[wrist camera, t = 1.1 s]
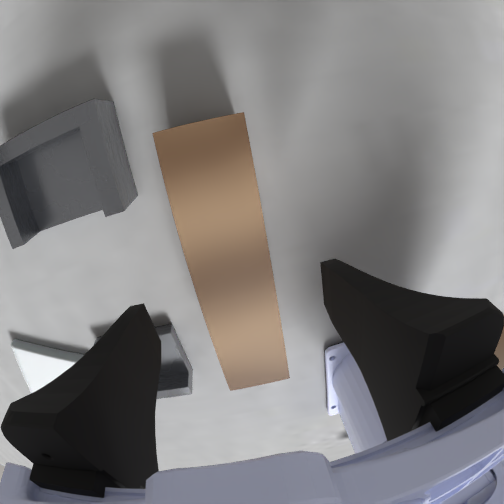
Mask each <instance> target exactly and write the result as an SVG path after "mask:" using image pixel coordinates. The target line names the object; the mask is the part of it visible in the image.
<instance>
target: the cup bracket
mask: <svg viewBox="0 0 504 504" xmlns="http://www.w3.org/2000/svg"><path fill="white" fill-rule="evenodd" d="M137 196H138V194H137V191H136V187H135V184H134V180H133V177H132V173H131V170H130V166H129V163H128V159H127V155H126V151H125V148H124V144H123V140H122V136H121V132H120V128H119V124H118V119H117V115H116V111H115V106H114V102H113V101H106V100H99V99H92V100H90V101H87V102H85V103H83V104H80V105H78V106H76V107H73V108H71V109H69V110H67V111H65V112H62V113H60V114H58V115H56V116H54V117H52V118H50V119H48V120H46V121H44V122H42V123H40V124H38V125H36V126H34V127H32V128H31V129H29V130H27V131H25V132H23V133H21V134H20V135H18V136H16V137H14V138H13V139H11V140H9V141H8V142H6V143H4V144H3V145H1V146H0V217H1V220H2V223H3V225H4V228H5V231H6V233H7V236H8V239H9V241H10V244H11V246H12V248H13V249H14V248H16V247H19V246H22V245H24V244H25V243H27V242H28V241H29V240H30V239H31V238H33V237H34V236H35V235H36V234H37V233H39V232H40V231H42V230H45V229H48V228H50V227H53V226H56V225H59V224H62V223H64V222H67V221H70V220H73V219H76V218H79V217H82V216H85V215H88V214H91V213H94V212H97V211H100V210H103V211H104V214H105V217H106V216H110V215H113V214H116V213H120V212H123V211H125V209H126V208H127V207H128V206H129V205H130V204H131V203H132V202H133V200H134V199H135V198H136V197H137Z"/></svg>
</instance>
